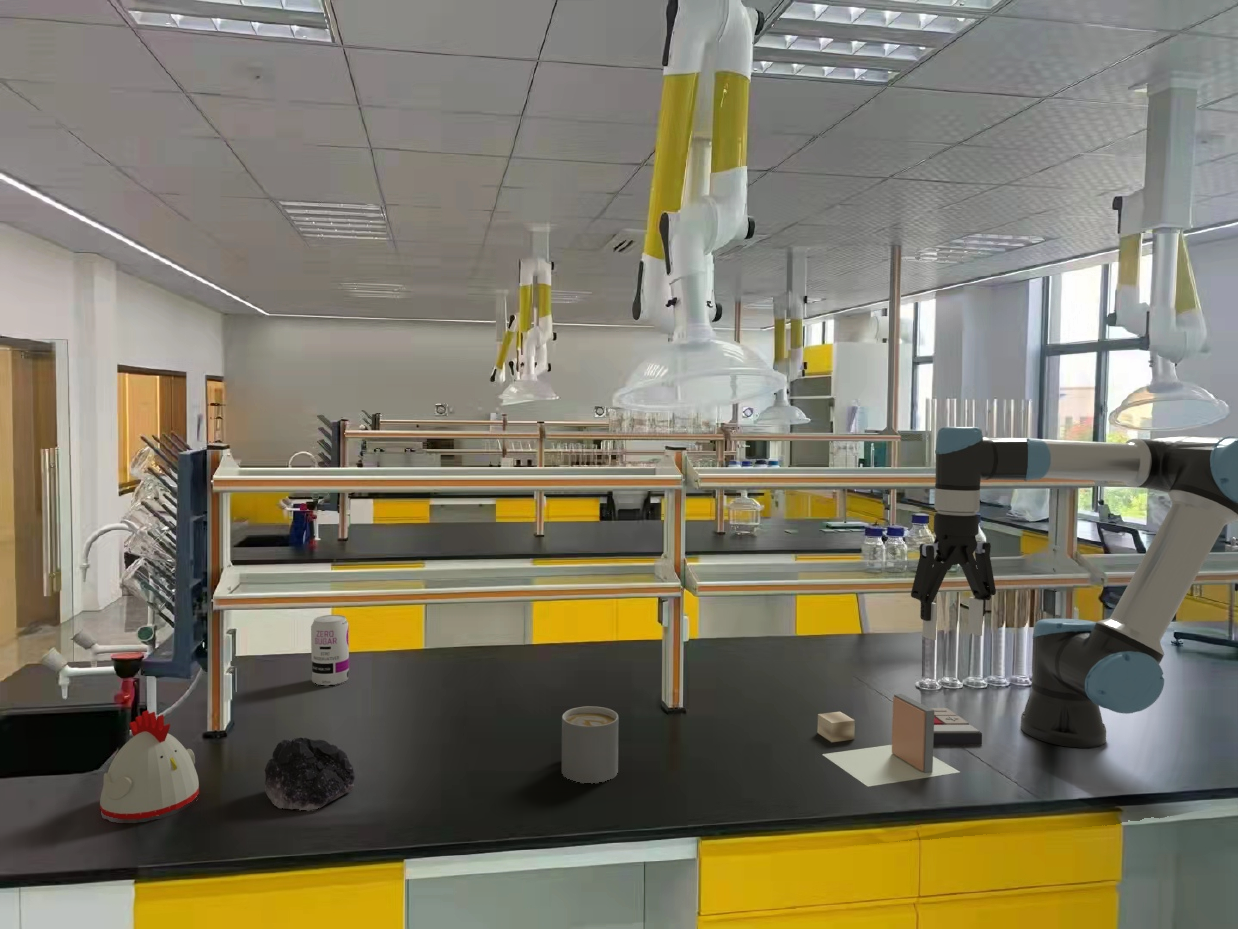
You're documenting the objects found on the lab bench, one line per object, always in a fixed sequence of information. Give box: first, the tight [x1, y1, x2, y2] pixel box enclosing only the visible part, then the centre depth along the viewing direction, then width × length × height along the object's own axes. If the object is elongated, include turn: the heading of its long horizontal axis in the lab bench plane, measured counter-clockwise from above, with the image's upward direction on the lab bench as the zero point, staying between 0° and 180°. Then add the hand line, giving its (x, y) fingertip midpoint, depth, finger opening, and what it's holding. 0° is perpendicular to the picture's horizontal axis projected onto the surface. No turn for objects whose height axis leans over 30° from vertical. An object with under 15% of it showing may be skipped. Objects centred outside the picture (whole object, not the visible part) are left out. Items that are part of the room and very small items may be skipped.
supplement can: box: [310, 614, 350, 685], centre depth 196 cm, size 8×8×15 cm
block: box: [817, 711, 856, 743], centre depth 163 cm, size 5×5×5 cm
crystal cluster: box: [264, 736, 356, 811], centre depth 138 cm, size 13×14×10 cm
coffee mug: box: [561, 705, 619, 785], centre depth 150 cm, size 13×10×10 cm
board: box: [821, 744, 961, 787], centre depth 150 cm, size 19×14×1 cm
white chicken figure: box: [99, 709, 200, 819], centre depth 134 cm, size 14×14×15 cm
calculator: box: [930, 707, 983, 746], centre depth 166 cm, size 11×4×15 cm
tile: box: [891, 693, 934, 773], centre depth 150 cm, size 2×9×11 cm, turn 19°
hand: (952, 636), depth 152 cm, fingers open, 9 cm apart
